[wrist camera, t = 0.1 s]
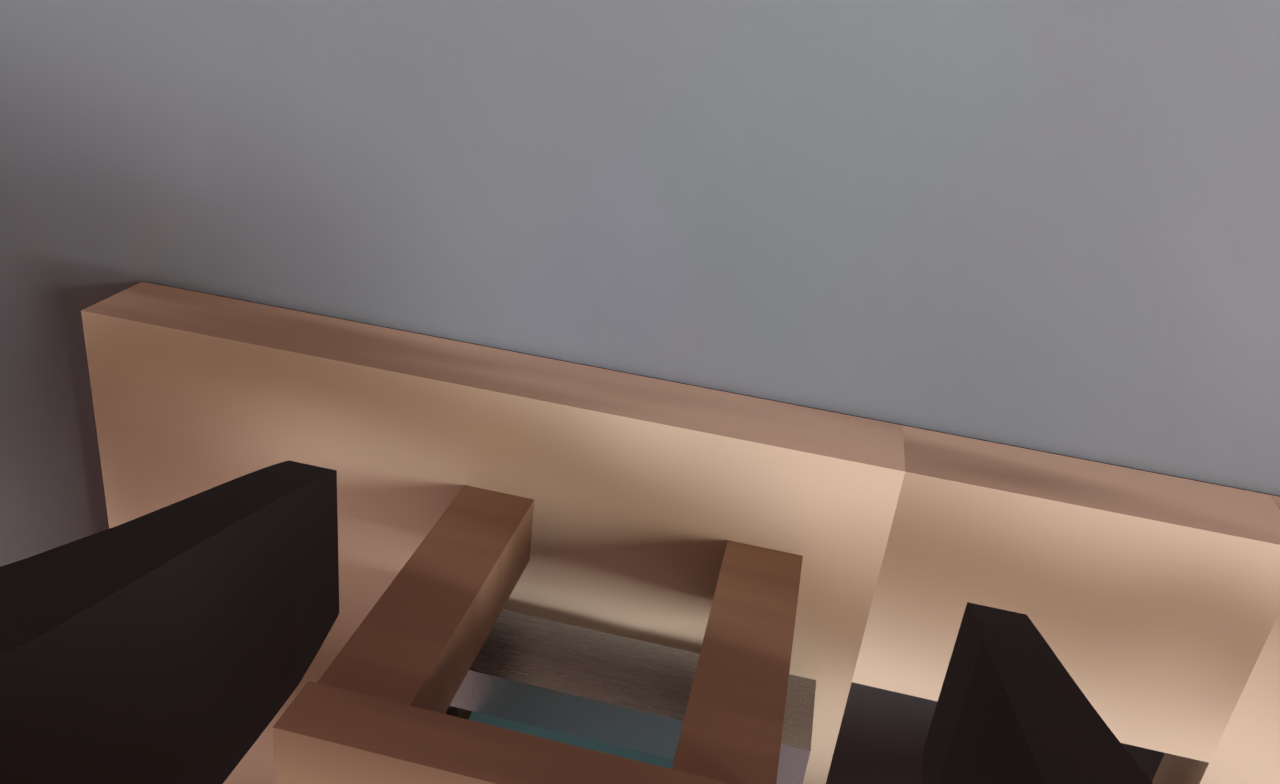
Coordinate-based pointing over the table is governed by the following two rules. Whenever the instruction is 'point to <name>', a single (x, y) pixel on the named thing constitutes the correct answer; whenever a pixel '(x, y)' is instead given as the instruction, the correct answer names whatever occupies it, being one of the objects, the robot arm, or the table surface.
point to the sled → (606, 689)
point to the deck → (720, 522)
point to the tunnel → (455, 632)
